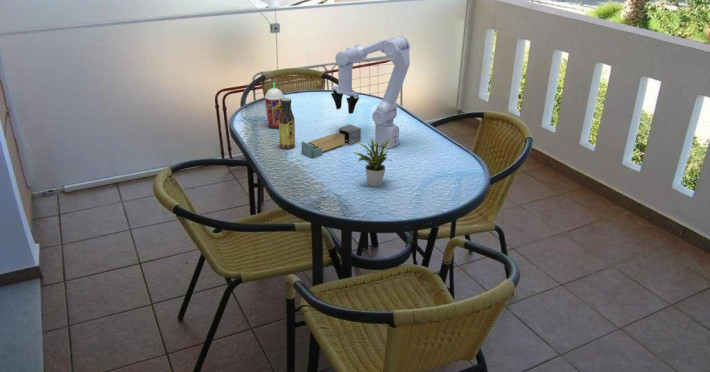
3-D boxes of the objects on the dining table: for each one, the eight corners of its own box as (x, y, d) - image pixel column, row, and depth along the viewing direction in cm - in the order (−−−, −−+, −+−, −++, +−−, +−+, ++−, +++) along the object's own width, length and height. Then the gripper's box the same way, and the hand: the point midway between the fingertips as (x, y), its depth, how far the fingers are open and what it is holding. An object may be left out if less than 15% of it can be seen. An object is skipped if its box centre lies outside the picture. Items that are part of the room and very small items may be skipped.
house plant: (372, 170, 222) (374, 129, 215) (403, 180, 214) (405, 138, 207) (348, 182, 212) (348, 139, 205) (379, 193, 204) (380, 149, 197)
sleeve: (349, 137, 253) (350, 124, 250) (360, 141, 248) (360, 128, 246) (338, 141, 248) (338, 128, 246) (349, 145, 244) (349, 132, 242)
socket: (310, 150, 239) (310, 138, 237) (321, 155, 235) (321, 143, 232) (301, 153, 236) (301, 141, 234) (312, 158, 232) (312, 146, 229)
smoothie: (283, 129, 260) (282, 85, 251) (264, 129, 260) (262, 84, 251) (286, 123, 267) (284, 79, 258) (267, 122, 267) (265, 79, 259)
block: (337, 141, 246) (337, 132, 245) (344, 144, 244) (344, 134, 242) (308, 151, 236) (308, 141, 234) (315, 154, 234) (314, 144, 232)
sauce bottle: (292, 150, 239) (291, 102, 230) (277, 148, 240) (275, 101, 231) (297, 144, 244) (295, 97, 236) (282, 143, 245) (280, 96, 237)
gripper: (326, 77, 249) (326, 108, 255) (350, 85, 240) (350, 117, 246) (338, 74, 254) (338, 105, 260) (362, 82, 245) (362, 113, 250)
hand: (344, 111), depth 253 cm, fingers open, 7 cm apart
